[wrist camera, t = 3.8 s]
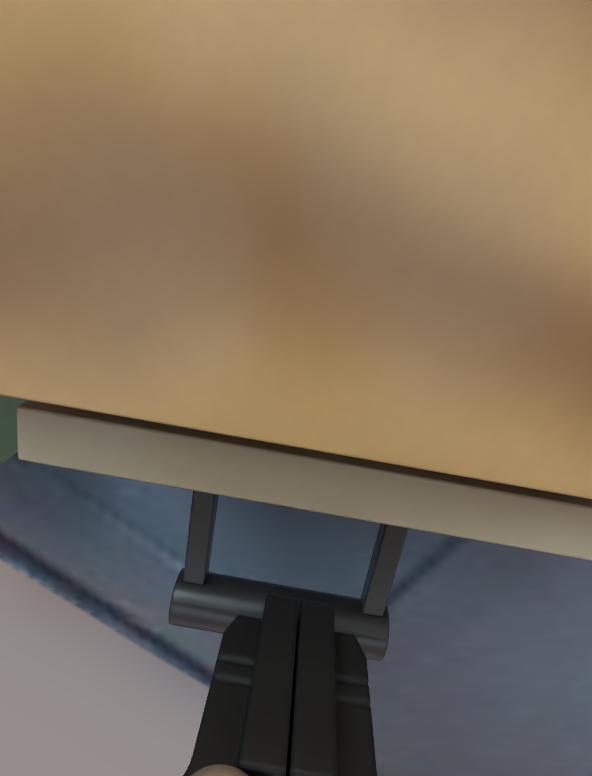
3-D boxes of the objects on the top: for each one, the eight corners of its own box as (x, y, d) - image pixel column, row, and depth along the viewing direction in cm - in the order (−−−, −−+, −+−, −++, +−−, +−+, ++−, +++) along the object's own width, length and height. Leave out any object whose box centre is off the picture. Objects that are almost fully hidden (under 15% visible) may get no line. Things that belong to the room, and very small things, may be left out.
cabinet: (509, 368, 17) (698, 520, 8) (138, 303, 17) (-53, 387, 8) (707, -241, 12) (1722, -1465, 3) (176, -335, 12) (-218, -1820, 3)
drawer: (441, 561, 19) (509, 759, 12) (133, 507, 19) (22, 674, 12) (658, -116, 12) (1105, -567, 5) (179, -201, 12) (-16, -770, 5)
